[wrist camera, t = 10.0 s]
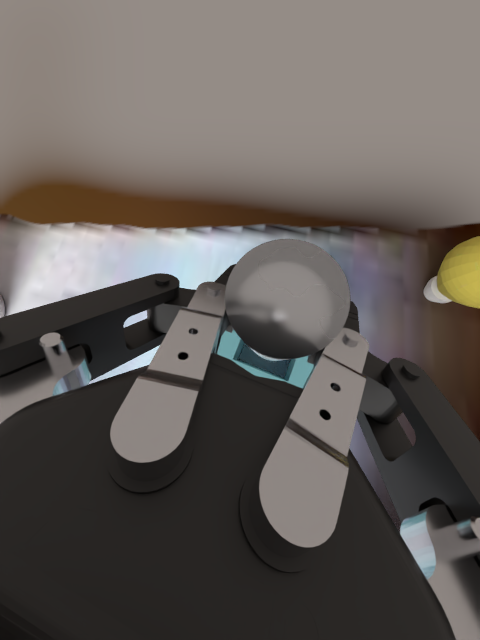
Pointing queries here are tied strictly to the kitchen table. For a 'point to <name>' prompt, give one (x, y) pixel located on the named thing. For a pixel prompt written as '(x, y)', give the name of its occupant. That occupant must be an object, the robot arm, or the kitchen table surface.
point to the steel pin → (287, 299)
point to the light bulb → (458, 276)
